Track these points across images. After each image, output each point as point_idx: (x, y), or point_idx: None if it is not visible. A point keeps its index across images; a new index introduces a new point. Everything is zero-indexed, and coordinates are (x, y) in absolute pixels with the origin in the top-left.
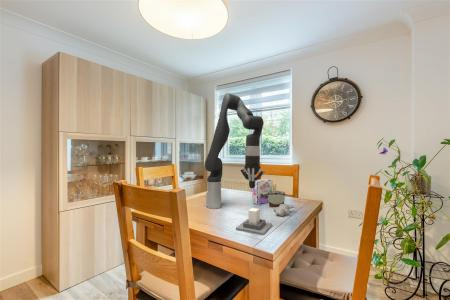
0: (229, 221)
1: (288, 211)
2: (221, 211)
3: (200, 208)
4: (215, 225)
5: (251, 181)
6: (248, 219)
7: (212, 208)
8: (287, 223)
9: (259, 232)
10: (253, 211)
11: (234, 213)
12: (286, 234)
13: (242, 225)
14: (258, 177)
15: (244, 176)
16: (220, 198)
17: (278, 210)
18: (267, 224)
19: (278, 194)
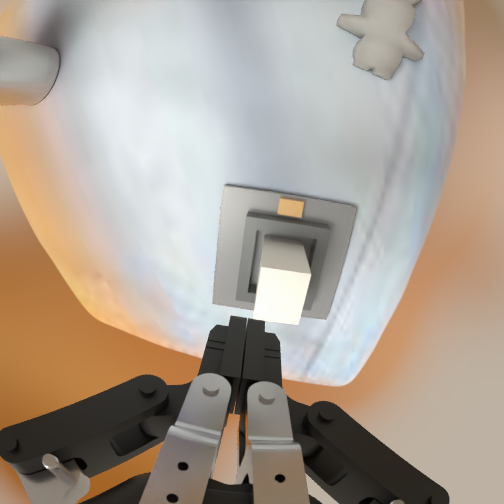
0: (151, 219)
1: (418, 57)
2: (74, 109)
3: (11, 126)
4: (127, 279)
5: (235, 412)
6: (245, 248)
7: (38, 102)
8: (413, 163)
9: (311, 317)
10: (282, 321)
11: (132, 102)
12: (401, 282)
13: (229, 274)
14: (339, 471)
15: (116, 436)
16: (29, 62)
17: (374, 55)
18: (336, 229)
19: None
